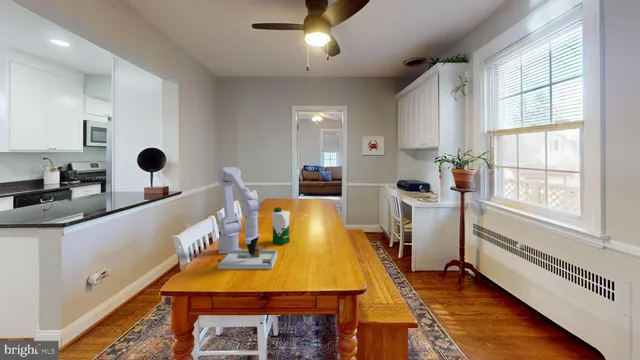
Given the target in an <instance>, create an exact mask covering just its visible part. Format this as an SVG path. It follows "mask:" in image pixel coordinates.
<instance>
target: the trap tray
mask: <svg viewBox="0 0 640 360" xmlns="http://www.w3.org/2000/svg"><path fill="white" fill-rule="evenodd" d="M277 258H278V249H261V255H260V256H259V257H251V255H250V254H249V251H248V249H240V250H229V254H227V255H226V256H225V257H224V258H223V259H222V260H221V261H220V262H219V263H218V264H217V269H218V270H272V269H273V267H274V264H275V263H276V259H277Z"/></svg>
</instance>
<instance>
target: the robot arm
mask: <svg viewBox="0 0 640 360" xmlns="http://www.w3.org/2000/svg"><path fill="white" fill-rule="evenodd" d="M241 175H242V171H241V169H240V167H239V166H231V167H229V166H228V167H226V166H224V167H222V166H221V167H219V169H218V170H217V181H218V184H219V185H221V190H222V202H223V209H224V210H223V211H224V217H222V218H221V220H219V233H220V235H219V237H218V254H221V255H222V254H223V255H224V254H227V255H228V254H229V250H242V247H239V235H240V233H241V232H242V230H243V229H242V228H243V226H242V223H241V219H240V217H239V216H237V215H236V213H235V203H234V202H235V201H234V193H233V186H234V187H235V189H236V190H237V193H236V195H237V196H238V198H239V200H240V202H241V204H242V205H241V208H242V212H243V216H244V243H245V245H246V247H247V250H248V251H249V254H250V255H254V253H255V249H256V246H257V243H258V241H259V237H261V233H259V224H258V223H259V222H258V218H259V217H258V214H259V213H258V212H259V211H260V209H261V203H260V201H259V199H257V198H256V197H255V196H253V194H252V192H251V191H250V189H249V188H248V187H245V185H244V182H243V180H242V178H241Z"/></svg>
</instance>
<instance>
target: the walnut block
mask: <svg viewBox="0 0 640 360" xmlns="http://www.w3.org/2000/svg"><path fill="white" fill-rule="evenodd" d="M261 250H262V246H261V245H256V249H255V253H254V255H251V257H259V256H260V255H261Z"/></svg>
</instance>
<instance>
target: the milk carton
mask: <svg viewBox="0 0 640 360" xmlns="http://www.w3.org/2000/svg"><path fill="white" fill-rule="evenodd" d="M273 210H274V211H271V212H270V213H271V214H270V215H271V218H272V219H271V220H272V242H271V243H272V244H274V245H278V246H284V245H287V244H289V243H291V242H290V216H291V211H288V210H283V209H282V207H280V206H279V207H278V206H277V207H274V209H273Z"/></svg>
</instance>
